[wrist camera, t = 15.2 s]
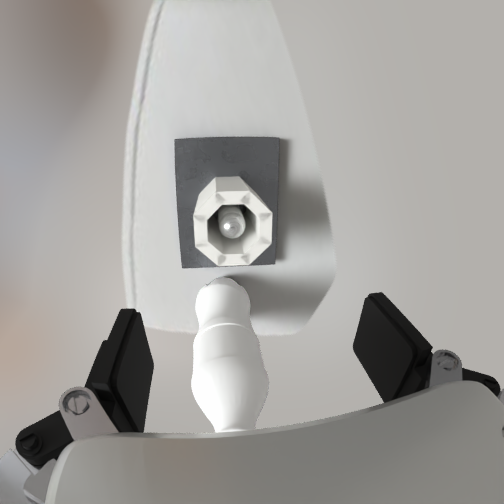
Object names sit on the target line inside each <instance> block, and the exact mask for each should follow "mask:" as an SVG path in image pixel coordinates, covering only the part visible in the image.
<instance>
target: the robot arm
mask: <svg viewBox="0 0 504 504" xmlns="http://www.w3.org/2000/svg"><path fill="white" fill-rule="evenodd" d="M432 348H433V347H432V346H431V345H430V343H429V342H428V341H427V340H426V339H425V338H424V337H423V336H422V334H421V333H420V332H419V331H418V330H417V329H416V328H415V327H414V326H413V325H412V323H411V322H410V321H409V320H408V319H407V318H406V317H405V316H404V315H403V314H402V313H401V312H400V311H399V309H397V307H396V306H395V305H394V304H393V303H392V302H391V301H390V300H389V299H388V298H387V297H386V296H385V295H384V294H383V293H382V292H380V293H371V294H369V295H368V297H367V298H365V301H364V305H363V309H362V313H361V317H360V321H359V325H358V328H357V332H356V336H355V339H354V343H353V350H354V352H355V354H356V356H357V358H358V359H359V361H360V362H361V364H362V366H363V368H364V369H365V371H366V373H367V374H368V376H369V378H370V379H371V381H372V383H373V384H374V386H375V388H376V390H377V391H378V393H379V395H380V396H381V398H382V400H383V402H384V403H383V404H379V405H376V406H373V407H369V408H366V409H362V410H358V411H354V412H351V413H347V414H343V415H338V416H335V417H329V418H325V419H320V420H315V421H310V422H304V423H299V424H293V425H287V426H280V427H273V428H264V429H255V430H245V431H233V432H216V433H143V432H144V426H145V419H146V411H147V405H148V399H149V393H150V386H151V381H152V374H153V369H154V363H153V359H152V355H151V352H150V348H149V345H148V341H147V337H146V333H145V329H144V325H143V321H142V317H141V314H140V312H136V310H135V309H121V310H120V312H119V314H118V316H117V319H116V321H115V323H114V326H113V328H112V330H111V333H110V335H109V337H108V340H105V341H103V342H102V344H101V347H100V349H99V351H98V354H97V356H96V359H95V361H94V364H93V366H92V369H91V372H90V374H89V376H88V379H87V382H86V384H85V387H74V388H70V389H69V390H67V391H66V392H64V393H63V394H62V396H61V398H60V400H59V409H60V410H59V411H57V412H55V413H53V414H51V415H49V416H48V417H46V418H44V419H42V420H40V421H38V422H36V423H35V424H32V425H31V426H28V427H26V428H25V429H23V430H22V431H20V433H19V434H18V436H17V438H16V449H15V450H14V451H12V449H10V450H9V451H7V453H5V454H4V456H2V457H1V458H0V504H504V389H502V391H500V386H499V384H498V382H497V381H496V379H495V378H493V377H491V376H489V375H485V374H481V373H478V372H475V371H471V370H468V369H464V368H462V363H461V360H460V358H459V357H458V356H457V355H456V354H455V353H453V352H451V351H448V350H438V351H436V352H435V353H434V354H433V353H432V352H431V350H432Z"/></svg>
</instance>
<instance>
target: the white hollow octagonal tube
mask: <svg viewBox="0 0 504 504" xmlns="http://www.w3.org/2000/svg"><path fill="white" fill-rule="evenodd" d="M231 204H244V205H246V212H245V213H244V214H243V217H244V220H245V223H246V227H245V231H244V233H243V234H242V235H241V236H240V237H238V238H235V239H229V238H226V237H225V236H223V235H222V234H221V232H220V230H219V222H218V220H217V219H216V218H215V217H214V216H213V213H214V212H215V211H216V210H217V209H218V208H219V207H220V206H221V205H231ZM272 214H273V213H272V212H271V211H270V209H269V208H268V207H267V206H266V204H265V203H264V202H263V201H262V199H261V198H260V197H259V196H258V194H257V193H256V192H255V191H254V190H253V189H252V188H251V187H250V186H249V185H248V184H247V183H245V182H244V181H243V180H242V179H241V178H240V176H234V177H215V178H214V179H213V180H212V181H211V182H210V183H209V184H208V185H207V186H206V187H205V188H204V189H203V191H202V192H201V193H200V194H199V196H198V200H197V203H196V207H195V211H194V214H193V220H194V237H195V247H196V248H197V249H198V250H200V251H201V252H202V253H203V254H204V255H206V256H207V257H208V258H209V259H210V260H211V261H213V262H214V263H215V264H216V265H217V266H237V265H250V264H251V263H252V262H253V261H254V260H255V259H256V258H257V257H258V256H259V255H260V254H261V253H262V252H263V251H264V250H265V249H266V248H268V247H269V246H270V245H271V244H272V243H271V242H272Z"/></svg>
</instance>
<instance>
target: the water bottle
mask: <svg viewBox="0 0 504 504" xmlns="http://www.w3.org/2000/svg"><path fill="white" fill-rule="evenodd" d="M250 308H251V303H250V299H249V296H248V294H247V292H246V290H245V289H244V288H243V287H242V286H241V285H238V284H237V283H236V282H235V281H234V280H232V279H230V278H226V277H219V278H216V279H214V280H213V281H212V282H211V283H210V284H209V285H207V284H206V285H204V286H203V287H202V288H201V290H200V291H199V293H198V296H197V299H196V313H197V317H198V320H199V332H198V333H197V335H196V338H195V340H194V363H193V376H192V381H191V384H192V391H193V394H194V397H195V399H196V401H197V403H198V405H199V406H200V408H201V409H202V411H203V412H204V414H205V415H206V416H207V418H208V419H209V420H210V422H211V423H212V424H213V426H214V428H215V432H233V431H245V430H255V425H256V421H257V418H258V416H259V414H260V412H261V410H262V408H263V406H264V403H265V400H266V398H267V394H268V389H269V379H268V374H267V372H266V370H265V368H264V363H263V359H262V355H261V350H260V345H259V340H258V338H257V336H256V334H255V332H254V330H253V328H252V325H251V321H250Z"/></svg>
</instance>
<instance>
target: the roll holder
mask: <svg viewBox="0 0 504 504" xmlns="http://www.w3.org/2000/svg"><path fill="white" fill-rule="evenodd" d="M278 173H279V138H276V137H208V138H186V139H175V175H176V196H177V213H178V227H179V240H180V251H181V262H182V268H205V267H228V266H217V265H216V264H215V263H214V262H213V261H211V260H210V259H209V258H208V257H207V256H206V255H204V254H203V253H202V252H201V251H200V250H198V249H197V248H196V247H195V237H194V220H193V214H194V211H195V207H196V203H197V200H198V196H199V194H200V193H201V192H202V191H203V189H204V188H205V187H206V186H207V185H208V184H209V183H210V182H211V181H212V180H213V179H214V178H215V177H234V176H240V178H241V179H242V180H243V181H244V182H245V183H247V184H248V185H249V186H250V187H251V188H252V189H253V190H254V191H255V192H256V193H257V194H258V196H259V197H260V198H261V199H262V201H263V202H264V203H265V204H266V206H267V207H268V208H269V209H270V211H271V212H272V213H273V214H272V242H271V243H272V244H271V245H270V246H269V247H268V248H266V249H265V250H264V251H263V252H262V253H261V254H260V255H259V256H258V257H257V258H256V259H255V260H254V261H253V262H252V263H251V264H250V265H270V264H275V259H276V235H277V207H278ZM245 212H246V205H244V204H231V205H221V206H220V207H219V208H218V209H217V210H216V211H215V212H214V213H213V216H214V217H215V218H216V219H217V220H218V222H219V230H220V232H221V234H222V235H223V236H225V237H226V238H229V239H235V238H238V237H240V236H241V235H242V234H243V233H244V231H245V227H246V223H245V220H244V217H243V214H244V213H245ZM250 265H237V266H250Z"/></svg>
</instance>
